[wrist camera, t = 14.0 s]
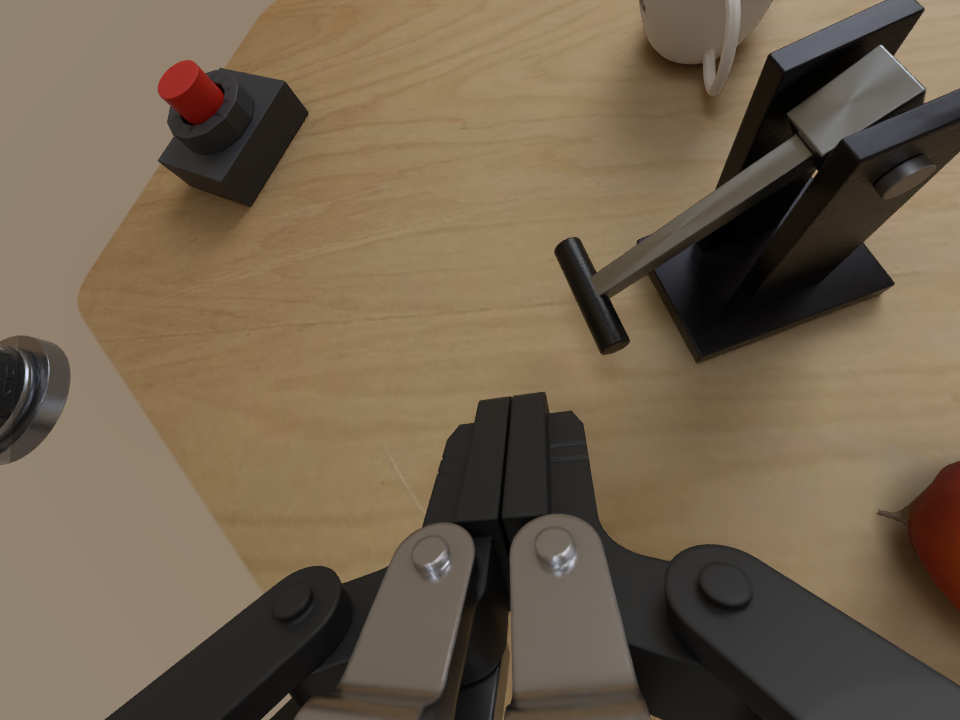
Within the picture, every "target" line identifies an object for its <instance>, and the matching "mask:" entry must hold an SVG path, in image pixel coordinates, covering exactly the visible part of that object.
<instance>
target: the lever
mask: <svg viewBox="0 0 960 720" xmlns="http://www.w3.org/2000/svg"><path fill="white" fill-rule="evenodd" d="M925 94H926V88H925V87H924V86H923V85H922V84H921V83H920V82H919V81H918V80H917V79H916V78H915V77H914V76H913V75H912V74H911V73H910V72H909V71H908V70H907V69H906V68H905V67H904V66H903V65H902V64H901V63H900V62H899V61H898V60H897V59H896V58H895V57H894V56H893V55H892V54H891V53H890V52H889V51H888V50H887V49H886V48H885V47H884V46H883V45H879V46H877V47H876V48H874V49H873V50H872V51H870V52H869V53H868V54H866V55H865V56H863V57H862V58H861V59H859V60H858V61H857V62H855V63H854V64H852V65H851V66H850V67H848V68H847V69H846V70H844V71H843V72H842V73H840V74H839V75H837V76H836V77H835V78H833V79H832V80H831V81H829V82H828V83H827V84H825V85H824V86H822V87H821V88H820V89H818V90H817V91H816V92H814V93H813V94H811V95H810V96H809V97H807V98H806V99H805V100H803V101H802V102H801V103H799V104H798V105H796V106H795V107H794V108H792V109H791V110H790V111H788V112H787V117H788V120H789V123H790V127H791V130H792V133H793V136H792V137H791V138H789V139H788V140H786V141H785V142H783V143H782V144H781V145H779V146H778V147H776V148H775V149H773V150H772V151H770V152H769V153H768V154H766V155H765V156H763V157H762V158H760V159H759V160H758V161H756V162H755V163H753V164H752V165H750V166H749V167H748V168H746V169H745V170H743V171H742V172H740V173H739V174H738V175H736V176H735V177H733V178H732V179H730V180H729V181H728V182H726V183H725V184H723V185H722V186H720V187H719V188H717V189H716V190H715V191H713V192H712V193H710V194H709V195H707V196H706V197H705V198H703V199H702V200H700V201H699V202H697V203H696V204H695V205H693V206H692V207H690V208H689V209H687V210H686V211H685V212H683V213H682V214H680V215H679V216H677V217H676V218H675V219H673V220H672V221H670V222H669V223H667V224H666V225H664V226H663V227H662V228H660V229H659V230H657V231H656V232H654V233H653V234H652V235H650V236H649V237H647V238H646V239H644V240H643V241H642V242H640V243H639V244H637V245H636V246H634V247H633V248H632V249H630V250H629V251H627V252H626V253H624V254H623V255H621V256H620V257H619V258H617V259H616V260H614V261H613V262H611V263H610V264H609V265H607V266H606V267H604V268H603V269H601V270H600V271H599V272H596V270H595V268H594V266H593V264H592V262H591V260H590V258H589V256H588V254H587V252H586V250H585V248H584V246H583V244H582V242H581V240H580V239H579V238H576V237H572V238H568V239H566V240H564V241H562V242H561V243H559V244H558V245H557V246H556V248H555V251H554V253H555V256H556V258H557V260H558V262H559V264H560V266H561V269H562V271H563V273H564V275H565V277H566V279H567V282H568V284H569V286H570V288H571V290H572V293H573V295H574V297H575V299H576V301H577V303H578V306H579V308H580V310H581V312H582V314H583V316H584V319H585V321H586V323H587V325H588V327H589V329H590V332H591V334H592V336H593V338H594V340H595V342H596V345H597V347H598V349H599V351H600V353H601V354H603V355H607V354H611V353H614V352H617V351H619V350H621V349H623V348H624V347H626V346H627V345H628V344H629V343H630V339H629V337H628V335H627V333H626V331H625V329H624V327H623V325H622V323H621V321H620V319H619V317H618V315H617V313H616V311H615V309H614V307H613V305H612V303H611V301H610V298H611V297H613V296H614V295H616V294H617V293H619V292H620V291H622V290H624V289H625V288H627V287H628V286H630V285H631V284H633V283H634V282H636V281H638V280H639V279H641V278H642V277H644V276H645V275H647V274H648V273H650V272H652V271H653V270H655V269H656V268H658V267H659V266H661V265H662V264H664V263H666V262H667V261H669V260H670V259H672V258H673V257H675V256H676V255H678V254H679V253H681V252H683V251H684V250H686V249H687V248H689V247H690V246H692V245H693V244H695V243H697V242H698V241H700V240H701V239H703V238H704V237H706V236H707V235H709V234H711V233H712V232H714V231H715V230H717V229H718V228H720V227H721V226H723V225H725V224H726V223H728V222H729V221H731V220H732V219H734V218H735V217H737V216H739V215H740V214H742V213H743V212H745V211H746V210H748V209H749V208H751V207H752V206H754V205H756V204H757V203H759V202H760V201H762V200H763V199H765V198H766V197H768V196H770V195H771V194H773V193H774V192H776V191H777V190H779V189H780V188H782V187H784V186H785V185H787V184H788V183H790V182H791V181H793V180H794V179H796V178H798V177H799V176H801V175H802V174H804V173H805V172H807V171H808V170H810V169H812V168H813V167H815V168H816V169H817V170H818V171H819V170H820V168H821V167H822V165H823V164H824V163H825V161H826V160H827V158H828V157H829V155H830V154H831V152H832V151H833V150H834V148H835V147H836V145H837V144H838V142H839V141H840V140H841V139H843V138H845V137H847V136H850V135H852V134H854V133H857V132H859V131H861V130H864V129H866V128H868V127H871V126H873V125H875V124H878V123H880V122H882V121H885V120H887V119H889V118H892V117H894V116H897V115H899V114H901V113H904V112H906V111H908V110H911V109H913V108H915V107H918V106H920V105H922V104H924V100H925Z"/></svg>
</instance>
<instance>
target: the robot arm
mask: <svg viewBox="0 0 960 720" xmlns="http://www.w3.org/2000/svg"><path fill="white" fill-rule="evenodd" d="M36 381H37V369H36V364H35V361H34V359H33V357H32V355H31V354H30V353H29V352H27V351H26V350H24V349H22V348H18V347H14V346H9V345H1V344H0V441H1V440H2V439H4V438H5V437H6V436H7V435H8V434H9V433H10V432H11V431H12V430H13V429H14V428H15V427H16V426H17V425H18V423H19V422H20V421H21V419H22V418H23V416H24V414H25V413H26V411H27V409H28V407H29V405H30V403H31V400H32V398H33V395H34V392H35V388H36ZM442 457H443V460H441V463H440V467H439V470H438V471H439V474H437V477H436V481H435V484H434V487H433V491H432V494H431V498H430V501H429V505H428V508H427V512H426V515H425V519H424V522H423V526H422V528H420V529H418V530H416V531H415V532H413V533H412V534H410V535H409V536H408V537H407V538H406V539H405V540H404V541H403V542H402V543H401V544H400V545H399V547H398V548H397V549H396V551H395V553H394V555H393V557H392V559H391V562H390V564H389V566H388V567H386V568H384V569H381V570H379V571H376V572H374V573H371V574H368V575H365V576H363V577H360V578H357V579H354V580H351V581H349V582H346V583H343V584H342V583H341V581H340V579H339V577H338V576H337V574H336V573H335V572H334V571H333V570H332V569H330V568H328V567H324V566H312V567H307V568H304V569H301V570H298V571H296V572H294V573H292V574H290V575H289V576H287V577H285V578H284V579H283V580H281V581H280V582H279V583H277V584H276V585H275V586H273V587H272V588H271V589H270V590H268V591H267V592H266V593H265V594H263V595H262V596H261V597H260V598H258V599H257V600H256V601H254V602H253V603H252V604H251V605H250V606H248V607H247V608H246V609H244V610H243V611H242V612H241V613H239V614H238V615H237V616H235V617H234V618H233V619H232V620H231V621H229V622H228V623H227V624H225V625H224V626H223V627H222V628H220V629H219V630H218V631H216V632H215V633H214V634H213V635H211V636H210V637H209V638H208V639H206V640H205V641H204V642H203V643H201V644H200V645H199V646H197V647H196V648H195V649H194V650H192V651H191V652H190V653H189V654H187V655H186V656H185V657H184V658H182V659H181V660H180V661H179V662H177V663H176V664H175V665H173V666H172V667H171V668H170V669H169V670H167V671H166V672H165V673H163V674H162V675H161V676H159V677H158V678H157V679H156V680H154V681H153V682H152V683H151V684H149V685H148V686H147V687H146V688H144V689H143V690H142V691H140V692H139V693H138V694H137V695H135V696H134V697H133V698H132V699H130V700H129V701H128V702H126V703H125V704H124V705H123V706H121V707H120V708H119V709H118V710H116V711H115V712H114V713H113V714H111V715H110V716H109V717H107V718H106V719H105V720H261V719H262V718H263V717H264V716H265V715H266V714H267V713H268V712H269V711H270V710H271V709H272V708H273V707H275V706H276V705H277V704H278V703H279V702H280V701H281V700H282V699H283V698H284V697H285V696H286V695H287V694H288V693H289V694H290V695H291V697H292V699H290V700H289V701H288V703H286V704H285V705H284V706H283V707H282V708H281V709H280V710H279V711H278V712H277V713H276V714H275V715H274V716H273V717H272V718H271V719H270V720H502V719H503V710H504V702H505V694H506V685H507V677H508V669H509V658H510V653H509V646H508V643H507V631H508V613H509V611H511V637H512V680H513V689H512V700H511V703H510V704H509V705H508V706H507V707H506V711H505V716H504V720H651V718H650V715H653V716H655V717H658V718H660V719H663V720H960V686H959V685H958V684H956V683H954V682H953V681H951V680H950V679H948V678H946V677H945V676H943V675H942V674H940V673H938V672H937V671H935V670H934V669H932V668H931V667H929V666H927V665H926V664H924V663H923V662H921V661H919V660H918V659H916V658H915V657H913V656H911V655H910V654H908V653H907V652H905V651H903V650H902V649H900V648H899V647H897V646H896V645H894V644H892V643H891V642H889V641H888V640H886V639H884V638H883V637H881V636H880V635H878V634H876V633H875V632H873V631H872V630H870V629H869V628H867V627H865V626H864V625H862V624H861V623H859V622H857V621H856V620H854V619H853V618H851V617H849V616H848V615H846V614H845V613H843V612H842V611H840V610H838V609H837V608H835V607H834V606H832V605H830V604H829V603H827V602H826V601H824V600H822V599H821V598H819V597H818V596H816V595H814V594H813V593H811V592H810V591H808V590H807V589H805V588H803V587H802V586H800V585H799V584H797V583H795V582H794V581H792V580H791V579H789V578H787V577H786V576H784V575H783V574H781V573H780V572H778V571H776V570H775V569H773V568H772V567H770V566H768V565H767V564H765V563H764V562H762V561H760V560H759V559H757V558H755V557H754V556H752V555H750V554H748V553H746V552H743V551H741V550H739V549H735V548H732V547H728V546H723V545H714V544H705V545H697V546H693V547H690V548H687V549H685V550H683V551H681V552H680V553H679V554H677V555H676V556H675V557H674V558H673V559H672V560H671V561H666V560H661V559H657V558H653V557H648V556H644V555H641V554H637V553H634V552H632V551H630V550H627V549H625V548H624V547H622V546H620V545H619V544H617V543H616V542H615V541H614V540H612V539H611V538H610V537H609V536H608V535H607V533H606V532H605V531H604V529H603V528H602V526H601V524H600V521H599V518H598V513H597V507H596V501H595V494H594V488H593V482H592V476H591V469H590V463H589V457H588V450H587V444H586V438H585V432H584V425H583V423H582V422H581V421H580V420H579V419H578V417H577V416H576V415H575V414H574V413H573V412H572V411H565V412H557V413H549V408H548V402H547V398H546V394H545V392H538V393H531V394H523V395H516V396H513V397H511V396H509V397H502V398H495V399H487V400H480V401H479V403H478V408H477V412H476V417H475V422H474V423H470V424H462V425H459V426H458V428H457V429H456V430H455V431H454V432H453V434H452V435H451V436H450V437H449V438H448V440H447V442H446V446H445V449H444V453H443V456H442ZM649 714H650V715H649Z"/></svg>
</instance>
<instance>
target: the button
mask: <svg viewBox="0 0 960 720" xmlns="http://www.w3.org/2000/svg"><path fill="white" fill-rule="evenodd" d="M158 93H159V95H160V97H161V98H162V99H164V100H165V101H166V102H167V103H168V104H169V105H170V106H171V107H172V108H173V109H175V110H176V111H177V112H178V113H179V114H180V115H181V116H182V117H183V118H184V119H186V120H187V121H188V122H189V123H190V124H192V125H197V124H201V123H204V122H205V121H207V120H208V119H209V118H211V117H212V116H213V115H214V114H216V113H217V111H218V109H219V108H220V106H221V105H222V103H223V101H224V94H223V92H222V91H221V90H220V89H219V88H218V87H217V86H216V85H215V83H214V82H213V81H212V80H211V79H210V78H209V77H208V76H207V75H206V74H205V73H204V72H203V71H202V69H201V68H200V67H199V66H198V65H197V64H196V63H194V62H193V61H190V60H185V61H181V62H179V63H177V64H175V65H173V66H172V67H170V68H169V69H168V70H167V71H166V72H165V73H164V75H163V76H162V78H161V80H160V81H159V85H158Z"/></svg>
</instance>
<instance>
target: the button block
mask: <svg viewBox="0 0 960 720" xmlns="http://www.w3.org/2000/svg"><path fill="white" fill-rule="evenodd" d="M205 74H206V75H207V76H208V77H209V78H210V79H211V80H212V81H213V82H214V83H215V85H216V86H217V87H218V88H219V89H220V90H221V91H222V92H223V94H224V101H223V103H222V105H221V106H220V108H219V109H218V111H217V113H216V114H214V115H213V116H212V117H211V118H209V119H208V120H207V121H205V122H204V123H201V124H197V125H192V124H190V123H189V122H188V121H187V120H186V119H184V118H183V117H182V116H181V115H180V114H179V113H178V112H177V111H176V110H175V109H173V108H172V107H171V106H170V110H169V115H168V120H167V123H168V125H169V127H170V129H171V131H172V134H173V135H174V137H173V139H172V140H171V142H170V143H169V145H168V146H167V148H166V149H165V151H164V152H163V154H162V155H161V156H160V158H159V159H158V161H159V162H160V163H161V164H162V165H164V166H165V167H166V168H168V169H169V170H170V171H171V172H173V173H174V174H175V175H177V176H178V177H179V178H181V179H182V180H183V181H185V182H186V183H187V184H189V185H190V186H193V187H196V188H199V189H202V190H204V191H207V192H210V193H213V194H216V195H219V196H221V197H224V198H227V199H230V200H233V201H236V202H238V203H241V204H244V205H247V206H251V205H252V203H253V202H254V200H255V198H256V197H257V195H258V193H259V192H260V190H261V189H262V187H263V185H264V184H265V182H266V180H267V179H268V177H269V176H270V174H271V172H272V171H273V169H274V167H275V166H276V164H277V163H278V161H279V159H280V158H281V156H282V155H283V153H284V151H285V150H286V148H287V146H288V145H289V143H290V142H291V140H292V138H293V137H294V135H295V133H296V132H297V130H298V129H299V127H300V125H301V124H302V122H303V121H304V119H305V117H306V116H307V114H308V111H307V110H306V108H305V107H304V106H303V104H302V103H301V102H300V100H299V99H298V98H297V96H296V95H295V94H294V92H293V91H292V90H291V88H290V87H289V86H288V85H287V83H286V82H285V81H282V80H277V79H272V78H267V77H263V76H258V75H253V74H248V73H243V72H238V71H233V70H228V69H223V68H220V69H219V70H214V71H211V72H208V73H205Z"/></svg>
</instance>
